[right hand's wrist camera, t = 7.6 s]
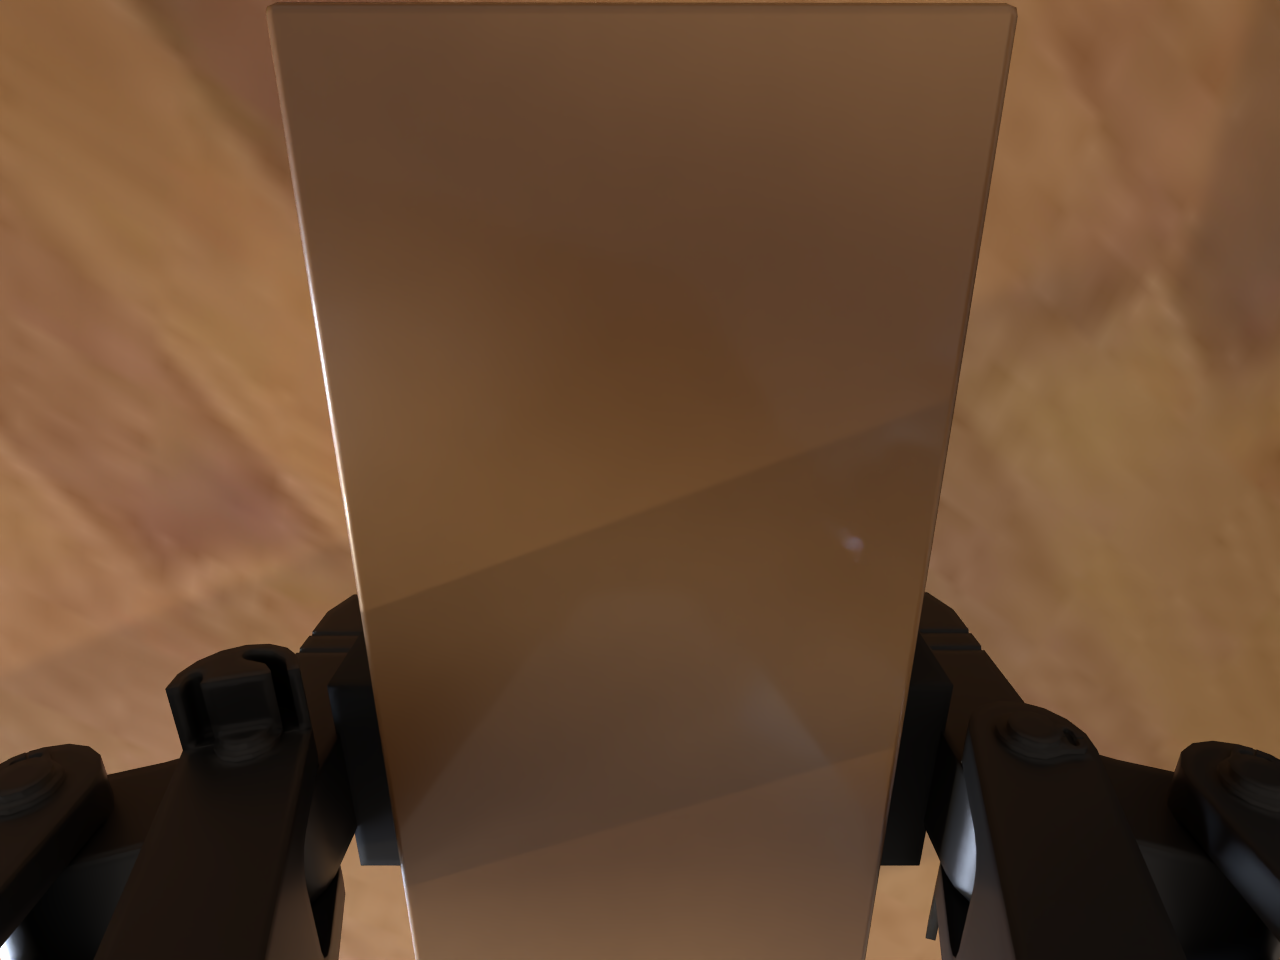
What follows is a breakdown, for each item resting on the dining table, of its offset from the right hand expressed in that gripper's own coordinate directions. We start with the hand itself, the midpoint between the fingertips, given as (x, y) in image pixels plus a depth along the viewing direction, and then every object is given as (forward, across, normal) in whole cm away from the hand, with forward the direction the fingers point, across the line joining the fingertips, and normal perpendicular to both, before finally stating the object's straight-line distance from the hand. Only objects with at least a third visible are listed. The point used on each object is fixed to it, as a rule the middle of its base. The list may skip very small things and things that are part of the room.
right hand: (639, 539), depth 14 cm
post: (0, 0, -33) cm, 33 cm away
